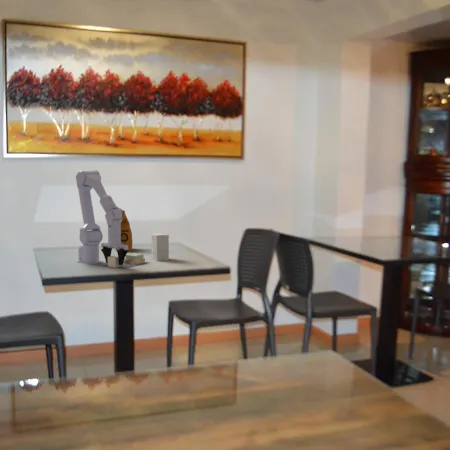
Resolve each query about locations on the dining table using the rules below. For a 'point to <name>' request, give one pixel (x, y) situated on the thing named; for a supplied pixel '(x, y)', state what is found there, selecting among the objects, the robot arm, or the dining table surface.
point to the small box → (160, 247)
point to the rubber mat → (128, 265)
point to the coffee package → (126, 232)
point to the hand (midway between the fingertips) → (114, 264)
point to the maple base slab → (134, 261)
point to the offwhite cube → (113, 261)
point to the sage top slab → (134, 256)
